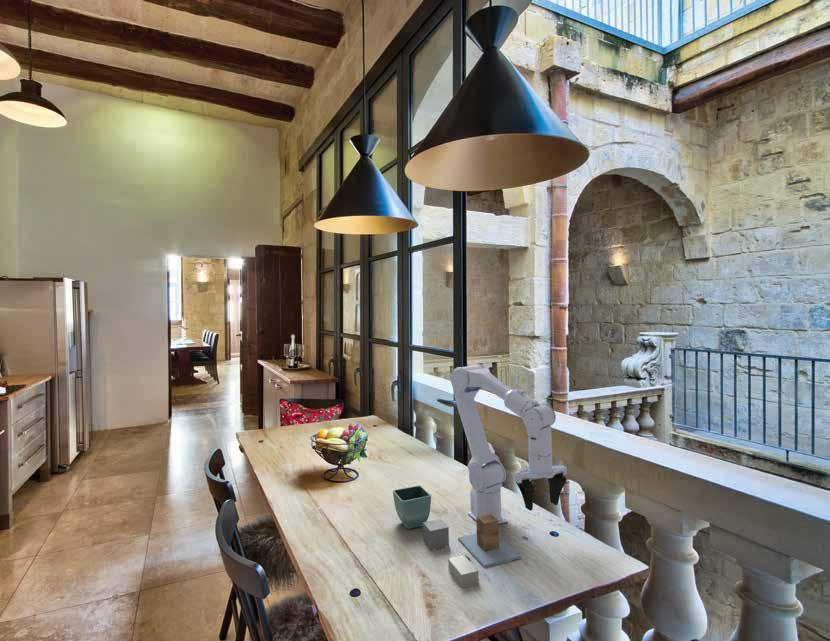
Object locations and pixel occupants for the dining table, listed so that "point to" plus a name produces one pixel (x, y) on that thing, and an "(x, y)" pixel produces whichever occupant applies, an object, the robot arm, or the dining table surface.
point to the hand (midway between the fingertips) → (541, 506)
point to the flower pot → (412, 505)
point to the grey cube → (436, 534)
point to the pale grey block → (463, 571)
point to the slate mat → (492, 556)
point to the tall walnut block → (487, 532)
